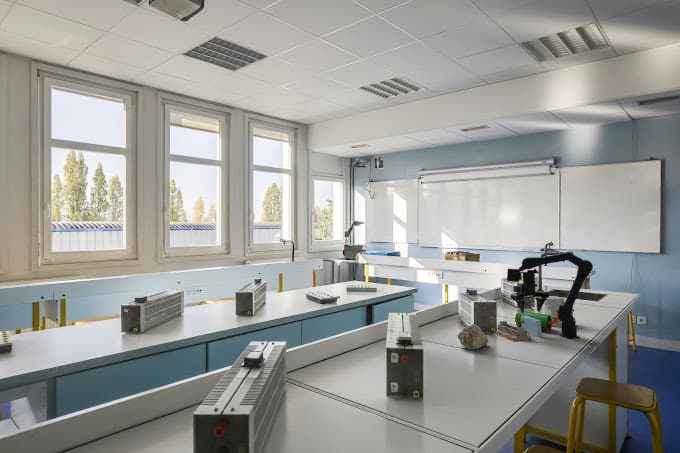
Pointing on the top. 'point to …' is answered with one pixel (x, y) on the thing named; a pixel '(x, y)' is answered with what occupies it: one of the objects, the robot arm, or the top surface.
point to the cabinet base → (512, 331)
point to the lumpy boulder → (472, 337)
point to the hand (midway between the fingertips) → (530, 312)
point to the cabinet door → (531, 325)
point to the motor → (545, 319)
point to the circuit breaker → (554, 307)
